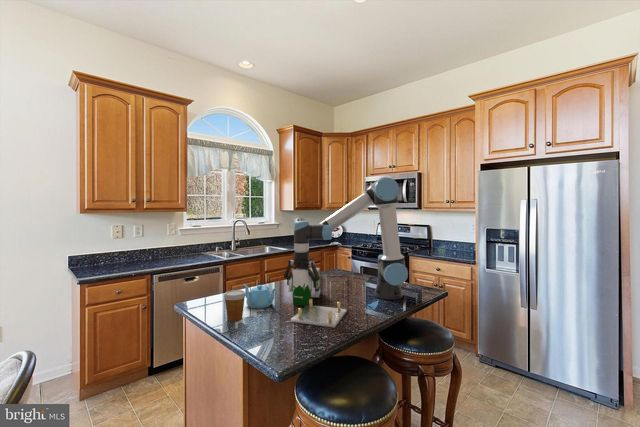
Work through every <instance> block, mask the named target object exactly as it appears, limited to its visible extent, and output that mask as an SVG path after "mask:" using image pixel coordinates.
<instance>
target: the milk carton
mask: <svg viewBox="0 0 640 427" xmlns="http://www.w3.org/2000/svg"><path fill="white" fill-rule="evenodd" d="M309 268H310V270H311V268H312V267H309ZM291 271H292V274H293V297H292V305H295V306H302V307H303V306H304V307H305V306H307V305H309V299H312V297H311V277H310V276H309V274H308V270H305V269H297V268H296V269H293V268H292V270H291Z"/></svg>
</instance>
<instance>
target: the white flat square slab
mask: <svg viewBox="0 0 640 427" xmlns="http://www.w3.org/2000/svg"><path fill="white" fill-rule="evenodd" d="M346 313H347V309H346V308H341V301H336V307H328V306H322V305H321V306H320V305H313V298H311V299H309V303H308V304H307V305H306V306H304V307H303V308H302V307H298V308H297V313H296V314H295V315H293V317H291V319H290V323H297V324H305V325H306V324H307V325H311V326H320V327H327V328H328V327H329V328H336V326H337V325H338V324H339V322H340V321H341V320H342V319H343V317H344V316H345V314H346Z"/></svg>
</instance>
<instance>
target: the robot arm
mask: <svg viewBox="0 0 640 427" xmlns="http://www.w3.org/2000/svg"><path fill="white" fill-rule="evenodd" d="M399 192H400V187H399V184H398V182H397V181H396V180H395V179H394V178H392V177H388V176H386V177H380V178H379V179H376V180H374V182H373V183H372V184H371V185H369V186H368V187H367V188H366V189H364V190H363V192H362V194H360V195H359V196H357V197H356V198H354V199H353V200H352V201H350V202H348V203H347V204H345V205H344V206H343V207H341V208H340V209H338V210H337V211H335V212H334V213H332V214H331V215H330V216H328V217H326V218H325V219H324V220H322V221H320V222H319V223H317V224H310V222H309V220H297V221H295V222H294V224H293V225H294V228H293V245H294V246H293V251H294V252H293V253H294V254H293V256H294V257H293V258H294V260H293V259H290V260H288V263H287V267H286V270H285V272H284V274H283V278H284V279H286V285H287V286H288V293H292V275H293V274H292V270H293V269H296V268H297V269H305V270H308V274H309V276H310V277H311V279H312V280H313V281H312V295H313V294H314V293H315V288H316V286H317V281H318V280H320V281H321V276H320V277H319V274H318V272H317V269H316V268H317V267H316V262H315V261H314V260H313V261H310V252H309V250H310V244H309V243H310V240H311V241H312V240H314V241H315V240H318V241H319V240H323V241H327V240H330V241H331V240H332V238H333V232H334V230H336V229H337V228H338V227H339V228H340V227H341V226H342V225H343V224H345V223H346V222H348V221H349V220H351V219H352V218H354V217H355V216H357V215H358V214H360V213H361V212H363V211H364V210H366V209H367V208H369V207H370V206H375V207H376V208H377V209H378V216H379V225H380V226H379V227H380V235H381V244H382V254H379V255H378V256H377V264H378V265H377V283H376V286H375V289H374V296H375V297H376V298H379V299H381V300H389V301H391V300H392V301H394V300H400V299H402V298H403V290H402V287H401V285H403V284H404V283H405V282H406V280H407V279H408V275H409V271H408V268H407V266H406V263H405V261H406V260H405V256H404V255H403V254H402V253H401V245H400V236H399V228H398V227H399V226H398V216H397V208H396V207H397V205H398V204H399V197H398V195H399ZM293 265H294V267H293V268H292V266H293ZM310 268H312V270H313V272H314V274H313V273H312V271H311V270H310ZM291 269H292V270H291ZM314 275H315V276H314Z"/></svg>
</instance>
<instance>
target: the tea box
mask: <svg viewBox="0 0 640 427" xmlns="http://www.w3.org/2000/svg"><path fill="white" fill-rule="evenodd" d="M310 268H311V271H312V273H313V274H314V272H313V270H312V267H310ZM316 269H317V272H318V274H319V277H320V278H321V268H320V267H316ZM314 276H315V275H314ZM291 279H292V291H291V297H292V298H293V275H292V277H291ZM312 281H313V280H312V279H311V298H319V297H320V294H321V279H320V280H318V281H317V286H316V288H315V293H314V294H313V295H312Z"/></svg>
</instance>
